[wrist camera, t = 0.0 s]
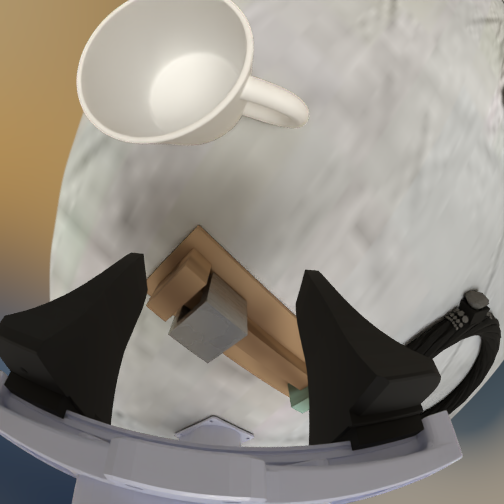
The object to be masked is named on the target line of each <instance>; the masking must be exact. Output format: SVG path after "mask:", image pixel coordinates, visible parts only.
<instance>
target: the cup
mask: <svg viewBox="0 0 504 504" xmlns="http://www.w3.org/2000/svg"><path fill="white" fill-rule="evenodd" d="M253 50H254V43H253V35H252V30H251V27H250V25H249V22H248V20H247V18H246V16H245V15H244V14H243V12H242V11H241V10H240V8H239V7H238V6H237V5H236V4H235V3H233V2H232V1H231V0H129V1H127V2H125V3H124V4H122V5H121V6H119V7H118V8H117V9H115V10H114V11H113V12H112V13H111V14H110V15H108V16H107V18H105V19H104V20H103V21H102V22H101V24H100V25H99V26H98V27H97V28H96V30H95V31H94V32H93V34H92V35H91V37H90V39H89V40H88V42H87V44H86V46H85V48H84V50H83V53H82V55H81V58H80V62H79V66H78V71H77V92H78V97H79V101H80V104H81V106H82V108H83V111H84V113H85V114H86V116H87V117H88V119H89V120H90V121H91V123H92V124H93V125H94V126H95V127H96V128H98V129H99V130H100V131H101V132H103V133H105V134H106V135H108V136H110V137H112V138H114V139H117V140H120V141H124V142H128V143H137V144H169V145H199V144H204V143H208V142H211V141H213V140H216V139H217V138H219V137H221V136H223V135H224V134H226V133H227V132H228V131H230V130H231V129H232V128H233V127H234V126H235V125H236V124H237V122H238V121H239V120H240V118H241V117H242V115H243V116H246V117H250V118H253V119H256V120H259V121H262V122H266V123H269V124H272V125H276V126H280V127H285V128H300V127H302V126H304V125H305V124H306V123H307V122H308V120H309V110H308V107H307V106H306V104H305V103H304V102H303V101H302V100H301V99H300V98H299V97H298V96H296V95H295V94H293V93H292V92H290V91H288V90H286V89H284V88H282V87H280V86H278V85H275V84H273V83H270V82H268V81H265V80H262V79H260V78H257V77H254V76H251V73H252V62H253Z"/></svg>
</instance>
